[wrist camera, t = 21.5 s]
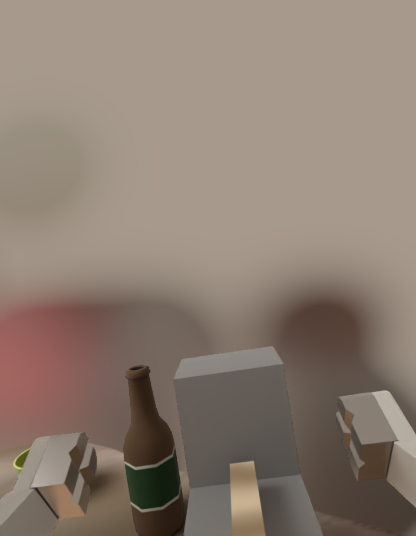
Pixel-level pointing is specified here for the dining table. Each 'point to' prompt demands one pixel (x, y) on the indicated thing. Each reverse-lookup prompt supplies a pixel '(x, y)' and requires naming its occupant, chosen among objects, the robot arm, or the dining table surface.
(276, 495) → the stand
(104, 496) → the dining table surface
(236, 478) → the stick
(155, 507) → the beer bottle
